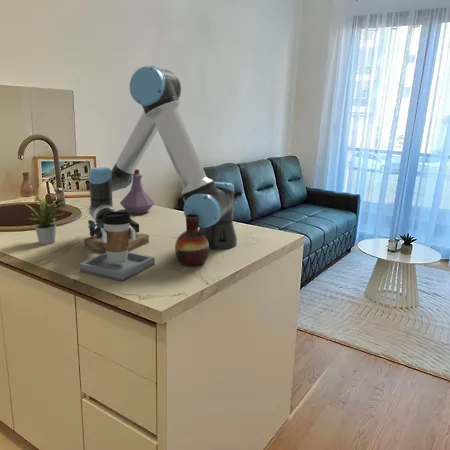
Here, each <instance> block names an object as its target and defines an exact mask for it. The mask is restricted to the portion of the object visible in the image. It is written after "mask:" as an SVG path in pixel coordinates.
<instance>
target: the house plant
mask: <svg viewBox="0 0 450 450" xmlns="http://www.w3.org/2000/svg"><path fill="white" fill-rule="evenodd" d="M42 199H43V202H42V200H39V202H38V203H39V213H40V215H39V213H38V212H37V210H35V208H33V207H32V206H30V205H29V204H26V203H24V205H25V206H27V207H29V208H30V210H31V211H33V212H34V214H35V215H34V214H33V213H30V214H31V217H29V218H27V219H28V220H31V221H34V222H36V224H37V225H35V226H34V229H35V232H36V235H37V239H38V243H39V244H40V245H45V246H46V245H52V244H54V243H56V232H57V224H56V223H55V221H57V219H58V218H59V217H60V216H61V217H62V216H63V215H64V214H65V215H66V212H65V213H61V214H56V212H57V210H59V209H60V208H64V207H65V206H59V205H61V204H63V203H64V201H62V202H58V203H56V201H57V199H56V200H54V201H53V202H52V203H51V205H50V206H48V205H49V204H48V203H47V201H46V200H45V198H42ZM58 206H59V207H58ZM57 207H58V208H57ZM54 214H55V215H54Z"/></svg>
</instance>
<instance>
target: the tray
mask: <svg viewBox="0 0 450 450" xmlns="http://www.w3.org/2000/svg"><path fill="white" fill-rule="evenodd" d="M155 262H156V261H155V256H151V255H146V254H142V253H141V254H140V253H136V252H132V251H129V252H128V257H127V261H126V262H124V263H110V262H108V260H107V252H104V253H102V254H99V255H97V256H94V257H92V258H89V259H87V260H85V261H82V262H80V263H79V264H78V265H79V272H80V273H84V274H89V275H93V276H97V277H101V278H106V279H111V280H114V281H117V280H118V282H125V281H126V280H129V279H130V278H132V277H134V276H136V275H137V274H139V273H142V272H144V271H146V270H148V269H149V268H152V267H153V266H155V264H156V263H155Z"/></svg>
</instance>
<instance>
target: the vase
mask: <svg viewBox="0 0 450 450" xmlns="http://www.w3.org/2000/svg"><path fill="white" fill-rule="evenodd" d="M198 221H199V216H198V215H195V214H189V215H186V217H185V223H186V224H185V226H186V228H185V231H184V232H182V233H181V234H179V236H178V237H177V238H176V240H175V244H174V253H175V256H176V259H177V261H178V262H180V264H182V265H184V266H189V267H191V266H192V267H193V266H199V265H200V266H201V265H202V264H204V263H205V262H206V261H207V259H208V256H209V253H210V249H209V242H208V240H207V238H206V237H205V236H204V235H203V234H202V233H201V232H199V227H198Z"/></svg>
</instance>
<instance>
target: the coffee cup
mask: <svg viewBox="0 0 450 450" xmlns="http://www.w3.org/2000/svg"><path fill="white" fill-rule="evenodd" d="M130 218H131V213H129V212H127V211H116V212H107V213H104V214H103V218H102V223H104V230H105V232H106V233H107V243H105V244H106V251H107V260H108V262H110V263H124V262H126V261H127V257H128V244H129V231H130V228H129V223H130V222H131V220H132V219H130Z"/></svg>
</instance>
